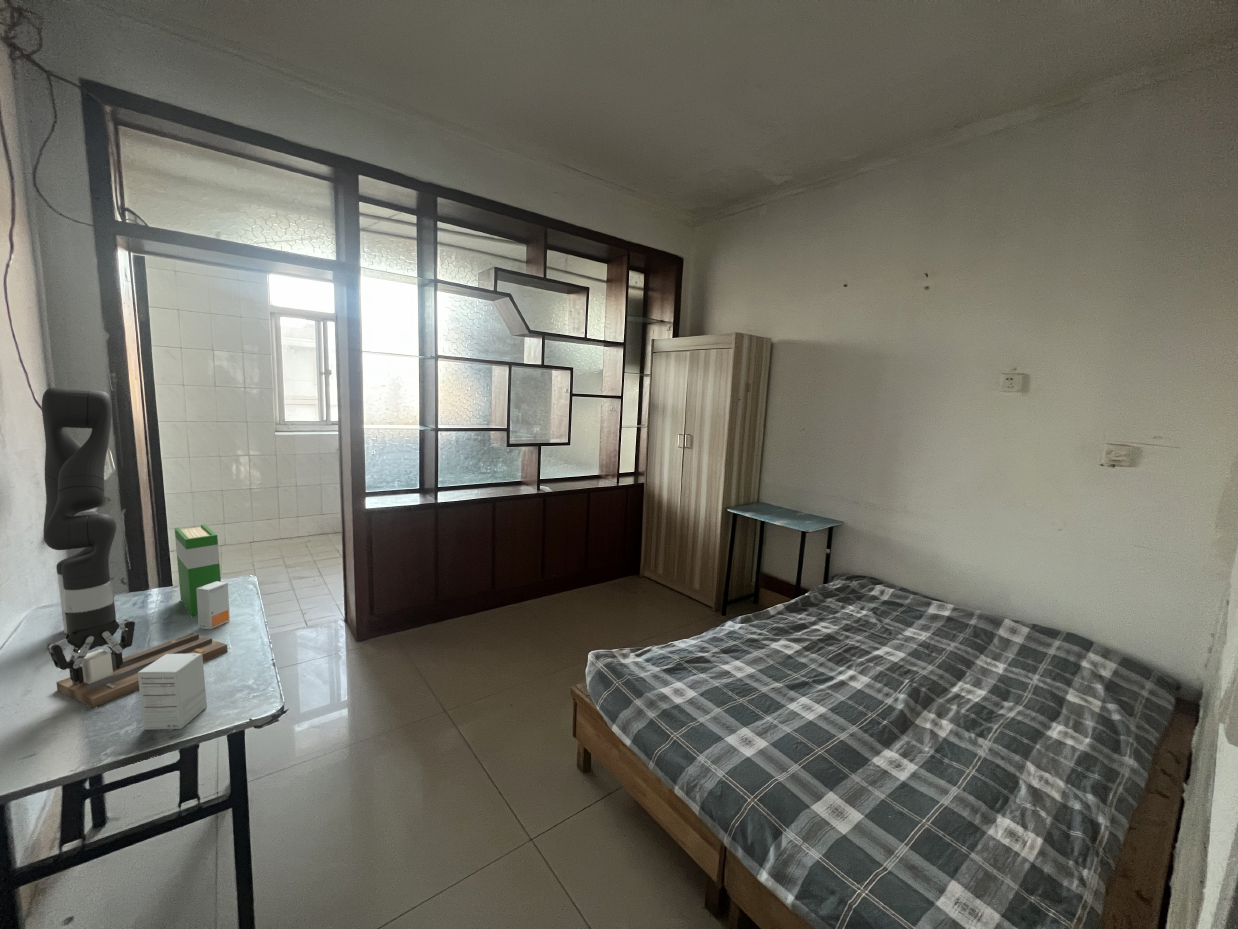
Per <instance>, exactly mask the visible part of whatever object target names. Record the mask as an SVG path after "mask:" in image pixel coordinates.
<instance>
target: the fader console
mask: <svg viewBox="0 0 1238 929" xmlns="http://www.w3.org/2000/svg"><path fill="white" fill-rule="evenodd" d="M227 652H228V644H226V643H223V642H221V641H218V640H215V639H213V637H209V638H208V637H206V636H203V635H200V634H199V633H193V632H190V633H188V634H185V635H182V636H180V637H179V636H178V637H176V638H174V639H171V640H168V641H166V642H163V643H160V644H158V645H155V646H151V647H149V648H146V649H144V650H142V651H138V652H135V653H132V654H130V655H127V656H124V657H122V659H123V664H122V665H120V668H119V669H116V670H115V669H113V668H112V669H113V675H112V676H109V677H106V678H104V679H101V680H99V681H96V682H93V683H91V684H87V683H85V682H82V683H79V684H78V683H76V682H74V681H72V680H71V679H70V676H69V677H66V678H64V679H61V680H59V681H56V689H57V690H56V691H58V692H60V693H62V694H64V695H66V696H68V697H70V698H72V699H75V700H77V701H79V702H81V703H83V704H85V705H87V706H89V707H91V708H96V707H98V706H102V705H103V704H106V703H108V702H110V701H113V700H115V699H117V698H120V697H123V696H124V695H127V694H130V693H133V692H135V691H137V690H139V681H138V672H139V671H141V670H142V669H144V668H145V667H147V666H148V665H150V664H152V663H153V662H155V661H156V660H158V659H159V658H161V657H162V656H164V655H165V654H191V653H198V654H202V657H203V663H204V662H207V661H208V660H212V659H214V658H216V657H218V656H220V655H223V654H225V653H227Z"/></svg>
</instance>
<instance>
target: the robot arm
mask: <svg viewBox="0 0 1238 929" xmlns="http://www.w3.org/2000/svg"><path fill="white" fill-rule="evenodd" d="M41 414H42V422H43V423H42V424H43V431H44V438H45V439H44V440H45V455H44V456H45V457H44V486H45V487H44V488H45V512H44V521H43V541H44V543H45V545H46V546H48V547H49V548H50V549H52V550H53V551H54V550H55V551H67V550H76V549H82V550H81V551H79V552H77V553H76V554H74V555H71V556H69V557H66V558H64V559H61V560H59V561H58V562H57V564H56V574H57V583H58V589H59V590H58V591H59V598H60V600H59V601H60V606H61V615H62V625H63V632H64V635H65V637H64V639H62V640H59V641H57V642H50V643H48V644H47V645H46V649H47V651H48V653H49V655H50V658H51V660H52V663H53V664H54V667H55V668H57V669H60V670H61V671H62V670H63V671H65V670H69V677H70V679H71V680H72V681H74V682H76V683H78V684H79V683H82V682H84V678H83V669H82V666H81V663H82V661H83V658H84V657H85V656H86V654H88V652H90V651H92V650H93V649H96V648H99V647H103V646H106V647H107V648H108V650H109V651H110V653H111V660H112V668H113V669H115V670H116V669H119V668H120V665H122V664H123V659H122V658H123V651H124V650H125V649H127V648H131V646H133V642H134V641H133V640H134V634H135V626H136V622H135V621H133V620H130V619H124V620H122V621H121V622H119V621H117V620H116V619H117V616H116V615H117V614H116V605H115V594H114V589H113V585H112V582H111V574H110V563H109V562H110V553H111V550H112V545H113V543H114V542H113V541H114V539H115V536H116V533H117V532H116V531H117V522H116V521H115V519H114V518H113V517H112V516H111V515H108V514H106V513H99V512H98V511H95V510H93V509H95V508H98V507H100V506H102V505H103V504H104V501H105V464H106V459H107V454H108V448H109V442H110V436H111V427H112V419H113V418H112V417H113V416H112V415H113V404H112V400H111V397H110V395H109V394H108V393H107V392H105V391H101V390H95V389H82V388H71V387H49V388H47V389H46V390H45V391H44V392H43V395H42V397H41ZM67 428H72V429H73V428H74V429H91V431H90V432H91V433H90V435H89V437H88V439H87V440H86V441H85V442H84V443H83V445H82V444H81V443H79V442H78V441H77V440H76V439H75V438H73V436H72V435H71V434H70V432H69V431H68V429H67ZM118 629H119V631H121V633H120V639H119V640H120V641H119V642H118V641H117V640H116V639H115V637H114V635H115V634H116V633H117V631H118ZM68 644H69V645H71V646H72V649H71V651H70V653H69V654H70V656H69V659H68V660H67V658H66V656H65V652H64V651H65V650H66V646H67V645H68Z"/></svg>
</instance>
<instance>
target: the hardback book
mask: <svg viewBox="0 0 1238 929" xmlns="http://www.w3.org/2000/svg"><path fill="white" fill-rule="evenodd" d="M174 537H175V538H174V539H175V548H176V559H177V560H176V561H177V570H178V571H177V572H178V582H179V583H178V584H179V593H180V594H179V595H180V601H181V600H182V601H181V602H183V603H184V604H183V603H182V604H183V606H184V605H185V606H186V607H185V606H184V607H185V609H186V608H187V609H186V611H187V612H188V611H189V612H188V613H189V616H190V617H191V616H192V617H191V618H193V617H194V616H195V617H198V608H197V593H196V588H199V587H202V586H204V585H207V584H210V583H213V582H216V581H218V582H222V578H221V564H220V555H219V554H220V552H219V540H218V534H217V533H216V532H214V531H213V530H212V529H211V528H210V527H208V526H207V525H206V523H203V524H200V526H199V527H192V528H191V527H190V528H184V529H183V528H182V529H181V528H180V527H174Z"/></svg>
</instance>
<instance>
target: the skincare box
mask: <svg viewBox="0 0 1238 929" xmlns="http://www.w3.org/2000/svg"><path fill="white" fill-rule="evenodd" d="M196 593H197V608H198V616H197V622H198V628H199V629H204V630H213V629H214V628H216V627H217V628H218V627H219V626H221V625H223V624H226V623H229V622H230V621H231V619H230V617H231V616H230V600H229V599H230V598H229V583H228V582H225V581H224V582H223V581H221V582H218V581H216V582H213V583H210V584H207V585H204V586H202V587H199V588H196Z"/></svg>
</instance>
